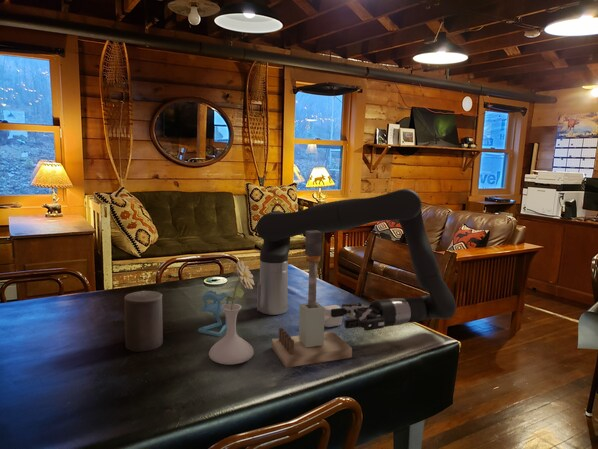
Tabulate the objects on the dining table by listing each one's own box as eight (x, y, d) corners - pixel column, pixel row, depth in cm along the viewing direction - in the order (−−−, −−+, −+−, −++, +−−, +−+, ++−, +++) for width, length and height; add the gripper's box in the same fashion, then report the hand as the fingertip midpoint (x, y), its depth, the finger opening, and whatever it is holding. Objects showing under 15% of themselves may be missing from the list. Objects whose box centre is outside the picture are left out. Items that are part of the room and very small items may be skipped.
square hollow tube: (305, 347, 115) (306, 310, 113) (298, 340, 119) (299, 304, 118) (323, 345, 116) (324, 308, 115) (316, 337, 121) (317, 302, 119)
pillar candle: (127, 354, 115) (126, 298, 113) (123, 340, 123) (121, 288, 121) (166, 348, 119) (165, 294, 117) (159, 335, 128) (158, 284, 126)
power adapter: (311, 331, 132) (311, 312, 131) (303, 326, 136) (304, 307, 135) (343, 326, 137) (344, 307, 136) (335, 320, 141) (336, 303, 140)
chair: (235, 327, 135) (235, 288, 133) (219, 336, 127) (219, 296, 125) (214, 322, 138) (214, 285, 136) (197, 332, 130) (197, 292, 129)
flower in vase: (234, 373, 106) (233, 271, 102) (199, 361, 112) (197, 264, 108) (266, 353, 117) (267, 260, 113) (233, 343, 123) (232, 254, 119)
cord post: (286, 367, 109) (287, 237, 104) (271, 347, 121) (272, 229, 116) (351, 357, 116) (356, 234, 111) (332, 339, 127) (335, 226, 122)
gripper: (377, 292, 131) (327, 297, 126) (405, 307, 118) (350, 314, 112) (376, 316, 132) (326, 322, 127) (403, 334, 119) (349, 342, 114)
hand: (337, 318), depth 120 cm, fingers open, 8 cm apart
